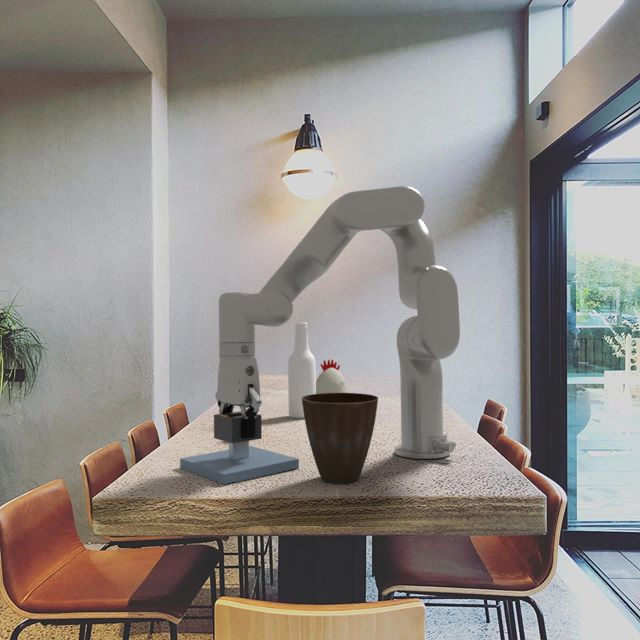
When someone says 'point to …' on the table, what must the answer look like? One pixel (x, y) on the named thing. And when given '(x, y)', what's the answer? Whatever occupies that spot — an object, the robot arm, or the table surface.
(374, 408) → the plant pot
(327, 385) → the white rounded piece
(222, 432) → the hollow gray block
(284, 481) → the table surface
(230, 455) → the block
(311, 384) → the alcohol
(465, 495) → the table surface
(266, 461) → the base board
